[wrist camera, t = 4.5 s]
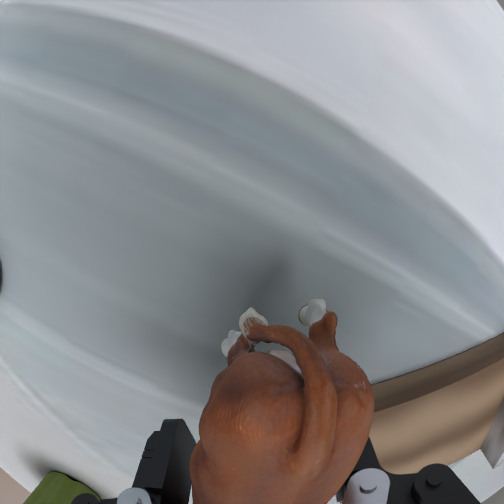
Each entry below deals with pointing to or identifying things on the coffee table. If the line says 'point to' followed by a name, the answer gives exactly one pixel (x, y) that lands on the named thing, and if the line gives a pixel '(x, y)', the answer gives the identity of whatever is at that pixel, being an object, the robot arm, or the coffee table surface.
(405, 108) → the coffee table surface
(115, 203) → the coffee table surface
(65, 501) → the plant pot
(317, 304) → the bull figurine
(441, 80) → the coffee table surface
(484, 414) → the brown drawer
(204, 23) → the coffee table surface
